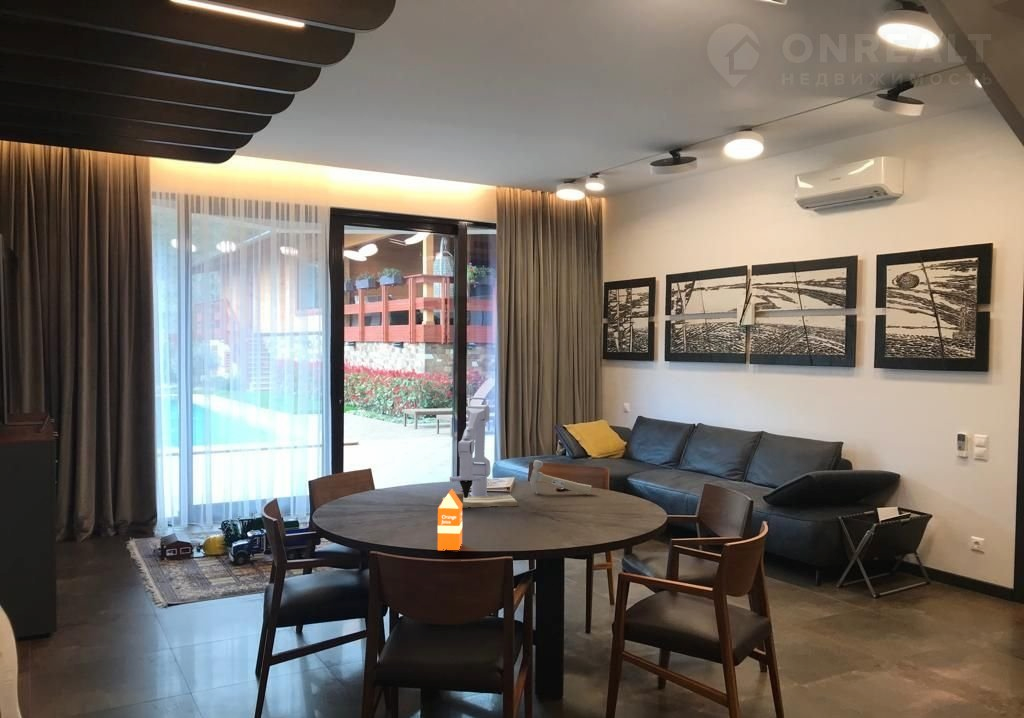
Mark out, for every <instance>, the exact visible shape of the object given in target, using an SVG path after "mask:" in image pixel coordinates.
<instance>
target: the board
mask: <svg viewBox="0 0 1024 718" xmlns="http://www.w3.org/2000/svg"><path fill="white" fill-rule="evenodd" d="M445 497H446V496H444V497H442V498H441V499H442V500H441V501H442V502H443V500H444V499H445ZM442 502H441V503H442ZM462 504H463V505H462V509H465V508H466V509H467V508H468V507H471V508H491V507H490V506H498V507H517V506H518V501H517V500H516V499H515V498H514V497H513V496H512V495H511V494H509V495H507V494H505V495H504V494H503V495H489V496H468V498H464V496H463V503H462ZM468 509H469V508H468Z"/></svg>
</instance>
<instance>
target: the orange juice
mask: <svg viewBox="0 0 1024 718" xmlns="http://www.w3.org/2000/svg"><path fill="white" fill-rule="evenodd" d="M454 491H455V490H454V489H453V488H451V489H450V491H448V493H447V495H446V496H444V497H445V499H444V500H443V502H441V503H440V504H439V506H438V507H437V551H445V550H446V549H447V550H459V549H460V550H461V548H460V546H461V547H462V545H463V508H462V505H463V504H462V503H461V501H460V500H459V498H458V497H457V495H456V494H455V492H454ZM461 544H462V545H461ZM443 549H444V550H443ZM460 550H459V551H460Z"/></svg>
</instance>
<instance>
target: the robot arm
mask: <svg viewBox="0 0 1024 718" xmlns="http://www.w3.org/2000/svg"><path fill="white" fill-rule="evenodd" d="M490 413H491V412H490V406H489V405H488V404H471V403H470V404H468V405H467V409H466V415H467V418H468V424H467V427H465V429H464V431H463V434H462V437H461V440H460V441H458V444H457V449H458V450H457V451H458V457H459V475H458V476H449V482H450V483H455V482H459V484H460V486H461V489H462V493H463V497H464V498H468V497H469V495H470V497H472V496H490V495H489V494H488V492H487V491H488V479H487V478H488V477H489V476H490V475H491V461H490V459H488V458H487V457H486V456H485V446H486V445H485V444H486V443H485V442H486V441H485V440H486V424H487V423H488V422H489V421H490ZM473 454H474V457H473ZM470 490H471V492H470Z"/></svg>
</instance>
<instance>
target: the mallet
mask: <svg viewBox="0 0 1024 718" xmlns="http://www.w3.org/2000/svg"><path fill="white" fill-rule="evenodd" d="M453 491H454V492H455V494H456V495H457V497H458V498H459V500H460V501H461V503H463V497H464V493H463V491H456V490H453Z"/></svg>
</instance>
